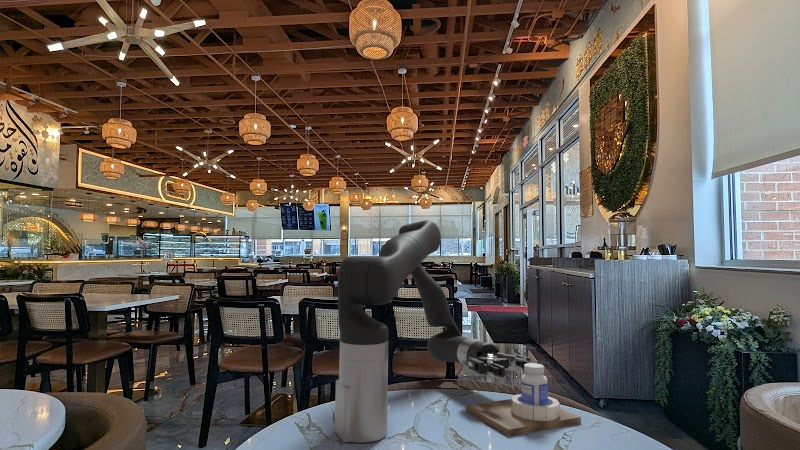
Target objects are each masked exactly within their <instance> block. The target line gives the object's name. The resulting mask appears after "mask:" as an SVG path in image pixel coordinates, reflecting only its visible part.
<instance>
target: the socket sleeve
mask: <svg viewBox="0 0 800 450" xmlns="http://www.w3.org/2000/svg"><path fill="white" fill-rule="evenodd" d="M510 399H511V409H512V412H513V414H515V415H517V416H519V417H522V418H525V419H529V420H534V421H550V420H556V419H557V418H558V417H559V416H560V408H561V404H560V402H559V400H558V399H556V398H554V397H552V396H549V395H548V405H547V406H533V405H528V404H524V403H522V402H521V393H520V394H519V393H518V394H514V395H513V396H512V397H511V398H510Z"/></svg>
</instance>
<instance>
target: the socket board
mask: <svg viewBox="0 0 800 450" xmlns="http://www.w3.org/2000/svg"><path fill="white" fill-rule="evenodd" d="M465 412H467V413H468V414H470V415H472V416H474V417H475V418H476V419H479V420H480V421H482V422H484V423H486V424H487V425H489V426H490V427H492V428H494V429H496V430H498V431H499V432H501V433H503V434H505V435H506V436H508V437H513V436H517V435H522V434H528V433H534V432H539V431H545V430H550V429H555V428H562V427H567V426H573V425H578V424H581V423H582V417H581V416H579V415H577V414H575V413H573V412H570V411H569V410H568V411H567V410H565V409H563V408H561V407H560V416H559V417H558V418H557V419H556V420H550V421H534V420H529V419H525V418H522V417H519V416H517V415H515V414H513V412H512V409H511V398H508V399H507V398H506V399H503V400H502V399H501V400H493V401H487V402H480V403H473V404H465Z"/></svg>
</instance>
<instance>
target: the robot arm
mask: <svg viewBox="0 0 800 450" xmlns="http://www.w3.org/2000/svg"><path fill="white" fill-rule="evenodd" d="M441 237H442V236H441V231H440V228H439V227H438V225H437V224H436V223H435V222H434V221H433V220H429V219H425V220H420V221H416V222H412V223H408V224H404V225H402V226H400V228H399V230H398V234H397V235H395V236H393V237H392V238H390V239H388V240H387V241H386V242H384V243H383V244H382V246H381V247H380V251H379V252H378V256H361V255H360V256H357V255H356V256H347V257H344V259H343V260H342V261H341V263H340V266H339V268H338V271H337V272H338V273H337V307H338V308H337V310H338V311H337V312H338V314H337V315H338V318H337V319H338V329H339V361H338V362H339V364H338V365H339V367H338V369H339V370H338V379H336V380H335V397H334V398H335V399H334V400H335V402H334V405H335V406H334V407H335V409H334V432H335V433H336V435H337V436H338V437H339V439H340V440H341V441H342V442H343V443H358V444H359V443H362V444H364V443H372V442H377V441H379V440H382V439H383V438H385V437H386V436H387V433H388V385H389V384H388V379H389V377H388V376H389V328H388V326H387V325H386V324H385V323H383V322H381V321H378V320H376V319H375V318H372V317H371V316H370V315H369V314H368V313H367V312H365V311H364V308H363V305H368V306H383V305H386V304H389V303H391V302H392V301H393V299H394V298H395V296H396V295H397V293H398V291H399V289H400V288H401V286H402V285H403V283H404V281H405V280H406V279H407V278H408V277H409V275H410V274H411V276H412V278H413V282H414V284H415V287H416V288H417V290H418V291H417V292H418V293H419V297H420V299H421V303H422V307H423V310H424V315H425V318H426V322H427V324H428V325H429V326H430V327H431V328H432V327H433V328H439V327H443V328H444V330H443V331H441V332H438V333H436V334H434V335H432V336H430V337H429V339H428V341H427V344H426V346H427V351H428V353H429V355H430V356H431V358H434V360H436V361H438V362H442V363H443V362H445V363H458V364H460V365H463V366H464V367H466V368H468V370H471V371H472V372H475V373H477V374H480V375H486V376H488V375H489V376H490V375H495V376H498V377H500V378H505V376H506V375H505V374H506V371H509V372H515V371H516V370H520V371H524V364H527V363H533V362H531V357H529V356H525V355H521V354H519V353H515V352H514V353H511V354H507V353H504V352H501V351H500V350H499V348H498V347H497V346H496V345H495V344H493V343H489V342H486V341H483V340H479V339H475V338H470V337H466V336H464V335H463V334H462V332H461V331H460V329H459V328H458V326H457V324H456V322H455V320H454V318H453V316H452V314H451V311H450V307H449V302H448V299H447V295H446V293H445V291H444V289H443V288H442V287H441V286H440V284H438V282H437V281H435V279H433V277H431V275H430V274H429V273H428V272H427V271H426V270H425V269H424V267H423V265H422V264H421V263H422V262H423V261H424V260H425V259H426V258H427V257H428V256H430V255H431V254H432V253H435V252H436V251H438V250H439V248H440V246H441V241H442V240H441V239H442V238H441ZM510 363H511V366H510Z"/></svg>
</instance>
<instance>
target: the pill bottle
mask: <svg viewBox="0 0 800 450" xmlns="http://www.w3.org/2000/svg"><path fill="white" fill-rule="evenodd" d="M523 371H524V374H522V375H521V377H520V391H521V392H520V394H521V402H522V403H524V404H528V405H533V406H547V405H548V396H549V387H548V386H549V383H548V381H549V380H548V378H547V376H545V375H544V374H545V367H544V365H543V364H541V363H535V362H532V363H527V364H524V370H523Z"/></svg>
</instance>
